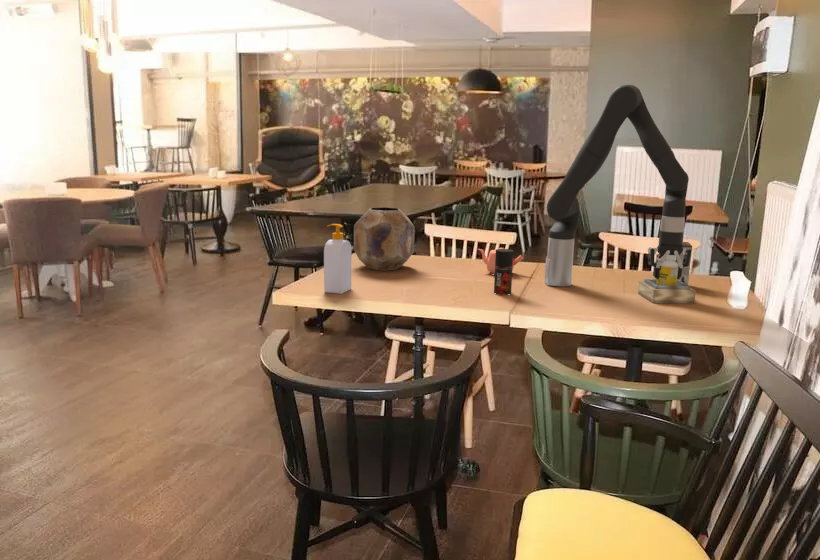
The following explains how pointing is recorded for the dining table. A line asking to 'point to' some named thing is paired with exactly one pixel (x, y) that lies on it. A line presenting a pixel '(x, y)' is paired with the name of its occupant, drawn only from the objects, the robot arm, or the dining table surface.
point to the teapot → (491, 260)
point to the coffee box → (685, 270)
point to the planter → (384, 238)
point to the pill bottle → (668, 272)
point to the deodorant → (503, 271)
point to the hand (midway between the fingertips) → (666, 278)
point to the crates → (666, 292)
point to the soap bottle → (337, 263)
